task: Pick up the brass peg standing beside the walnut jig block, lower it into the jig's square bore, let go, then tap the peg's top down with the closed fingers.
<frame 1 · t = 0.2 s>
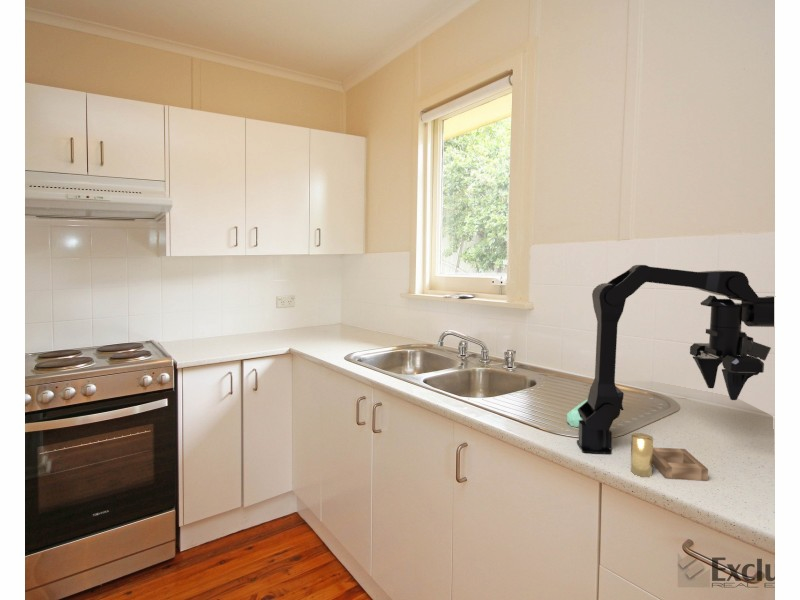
hand: (721, 393, 103), 14 cm above the countertop, tool pointing down, fingers open, 9 cm apart
peg: (641, 473, 96), on the countertop
container: (588, 416, 131), on the countertop
jig: (675, 468, 97), on the countertop
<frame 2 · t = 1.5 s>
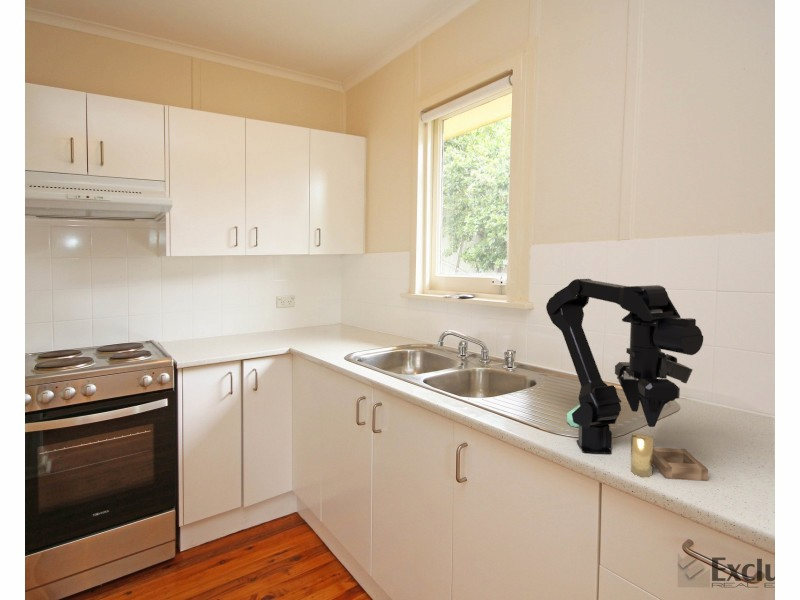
hand: (642, 418, 95), 12 cm above the countertop, tool pointing down, fingers open, 9 cm apart
nothing on the countertop moved.
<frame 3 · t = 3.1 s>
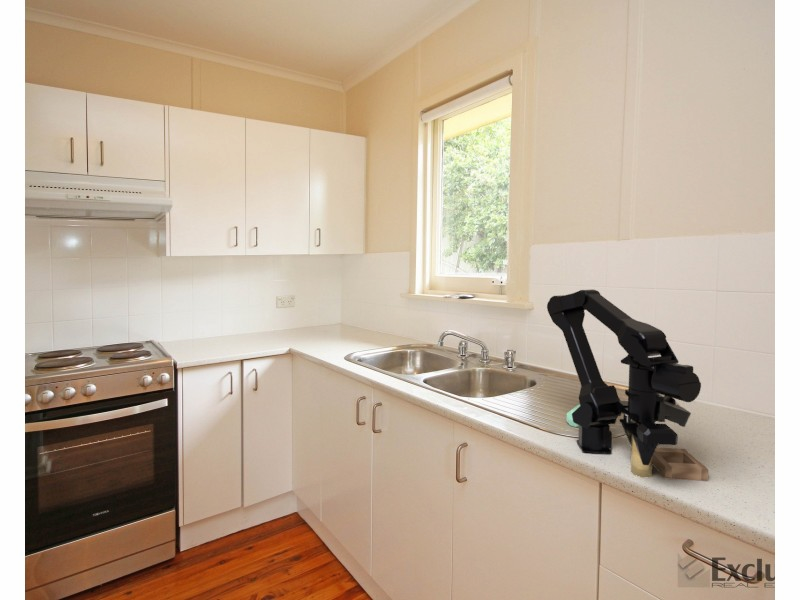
hand: (641, 460, 95), 3 cm above the countertop, tool pointing down, fingers closed on peg, 4 cm apart
peg: (641, 473, 96), on the countertop, touching gripper
everything else where it was.
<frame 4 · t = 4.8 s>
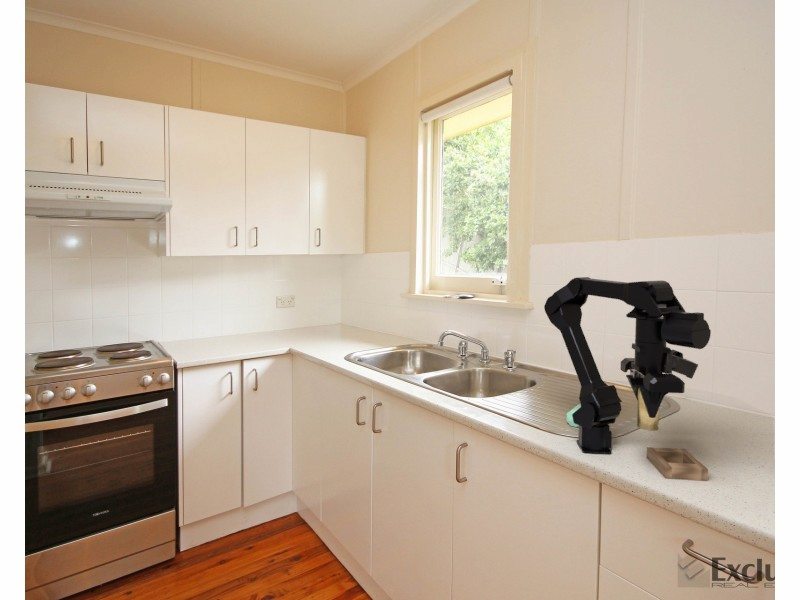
hand: (648, 414, 95), 13 cm above the countertop, tool pointing down, fingers closed on peg, 4 cm apart
peg: (647, 427, 95), point 10 cm above the countertop, touching gripper
everything else where it was.
when the fingers open (4 cm above the countertop, at t = 6.7 s): peg drops 1 cm, resting in jig.
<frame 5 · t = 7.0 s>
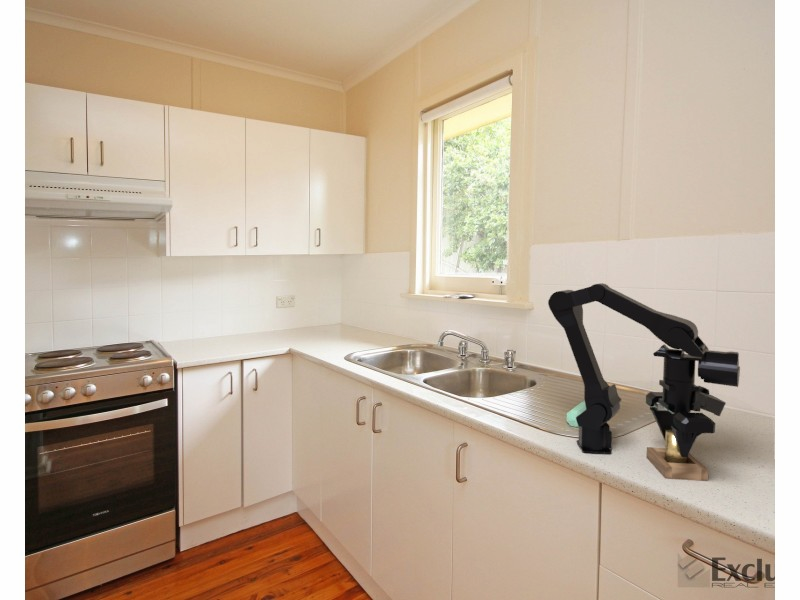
hand: (675, 449, 97), 4 cm above the countertop, tool pointing down, fingers open, 7 cm apart
peg: (675, 468, 97), resting in jig
everything else where it was.
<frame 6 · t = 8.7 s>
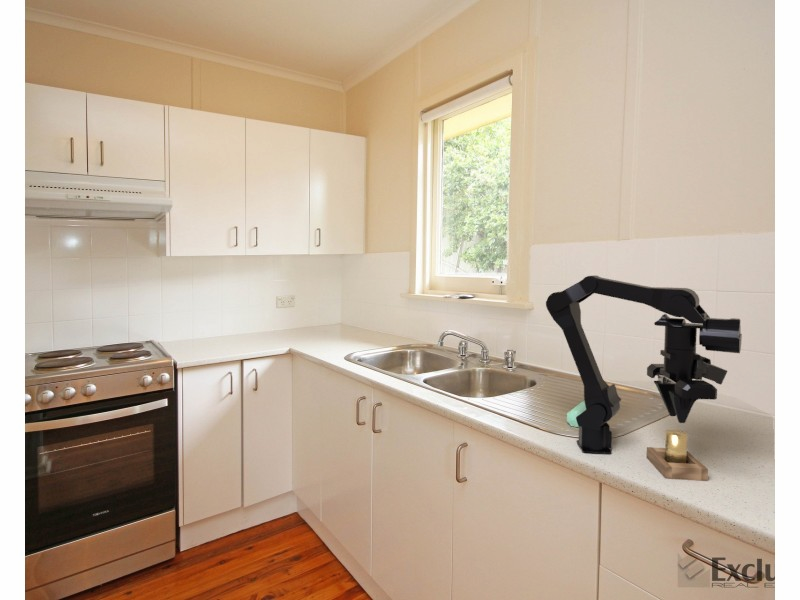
hand: (677, 419, 96), 11 cm above the countertop, tool pointing down, fingers open, 4 cm apart
nothing on the countertop moved.
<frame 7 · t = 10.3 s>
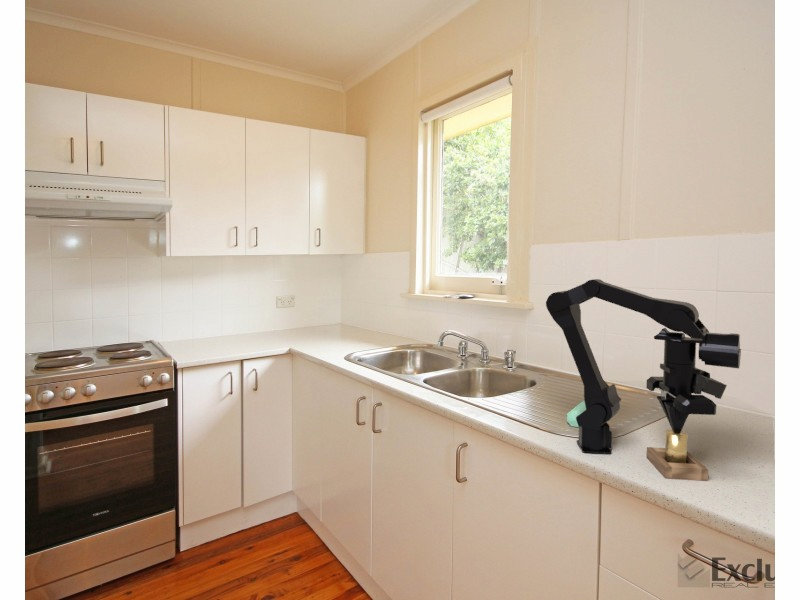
hand: (676, 433, 97), 8 cm above the countertop, tool pointing down, fingers closed, pressing on peg
peg: (675, 468, 97), resting in jig, touching gripper
everything else where it was.
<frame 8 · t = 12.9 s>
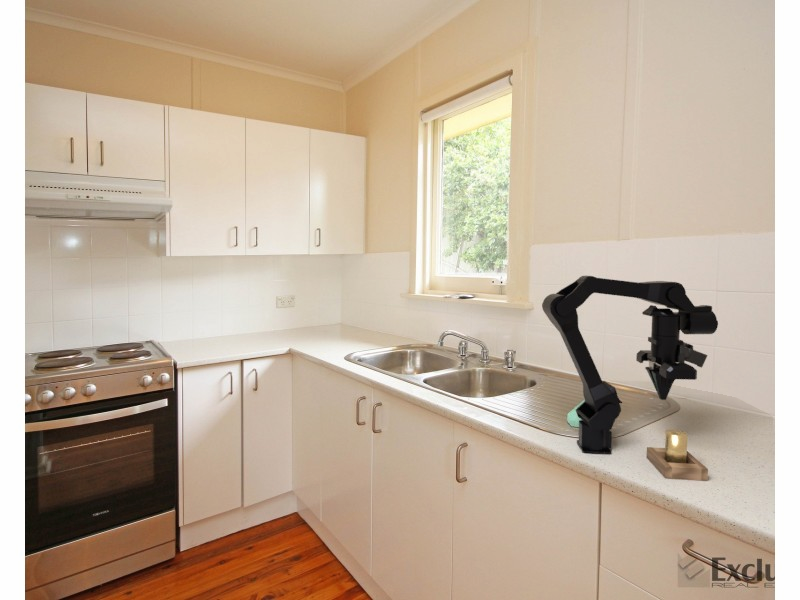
hand: (662, 399, 107), 12 cm above the countertop, tool pointing down, fingers closed
peg: (675, 468, 97), resting in jig
everything else where it was.
at the end: peg 0.0 cm off-centre on the jig, point 0.0 cm above the jig's base; peg tilted 0°; the gripper is holding nothing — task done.
